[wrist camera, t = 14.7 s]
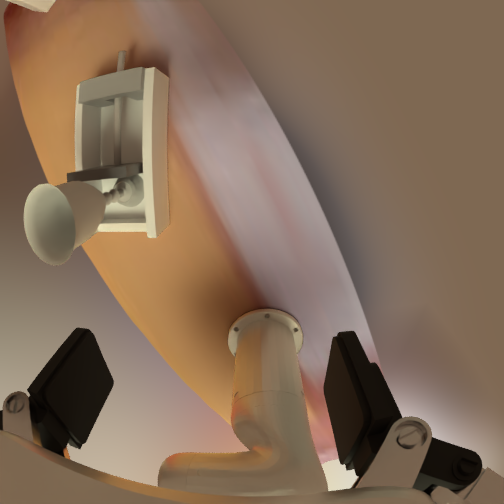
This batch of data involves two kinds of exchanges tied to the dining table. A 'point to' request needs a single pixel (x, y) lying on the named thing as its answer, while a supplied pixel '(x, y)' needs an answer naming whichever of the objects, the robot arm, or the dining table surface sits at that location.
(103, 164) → the grey bracket
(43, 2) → the milk
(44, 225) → the chalice
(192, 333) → the dining table surface
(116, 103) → the pusher
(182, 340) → the dining table surface
